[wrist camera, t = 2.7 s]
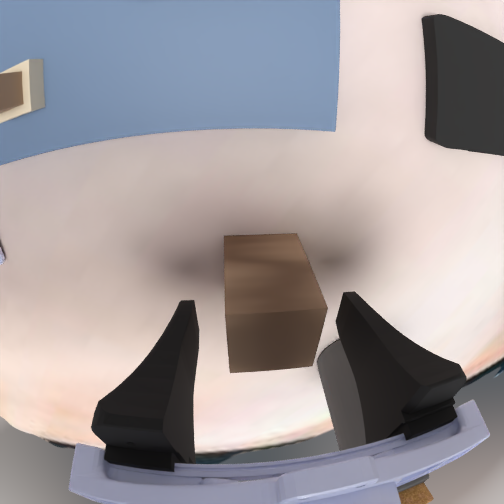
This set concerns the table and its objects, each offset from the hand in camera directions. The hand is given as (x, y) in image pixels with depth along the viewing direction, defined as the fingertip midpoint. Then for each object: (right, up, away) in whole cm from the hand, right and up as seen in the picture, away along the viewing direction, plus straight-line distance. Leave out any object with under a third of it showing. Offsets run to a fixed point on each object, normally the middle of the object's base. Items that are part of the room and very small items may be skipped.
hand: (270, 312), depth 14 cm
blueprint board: (-6, +15, -6) cm, 18 cm away
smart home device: (+18, +14, -2) cm, 23 cm away
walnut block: (0, +2, +3) cm, 4 cm away
